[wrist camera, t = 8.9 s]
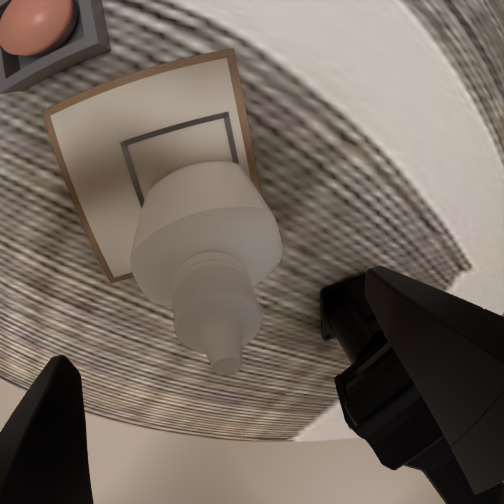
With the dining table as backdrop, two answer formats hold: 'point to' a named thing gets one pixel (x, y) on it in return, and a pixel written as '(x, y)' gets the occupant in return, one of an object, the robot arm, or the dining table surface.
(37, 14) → the button
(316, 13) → the dining table surface
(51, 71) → the button housing
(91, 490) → the robot arm
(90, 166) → the board
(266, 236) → the eye dropper bottle
